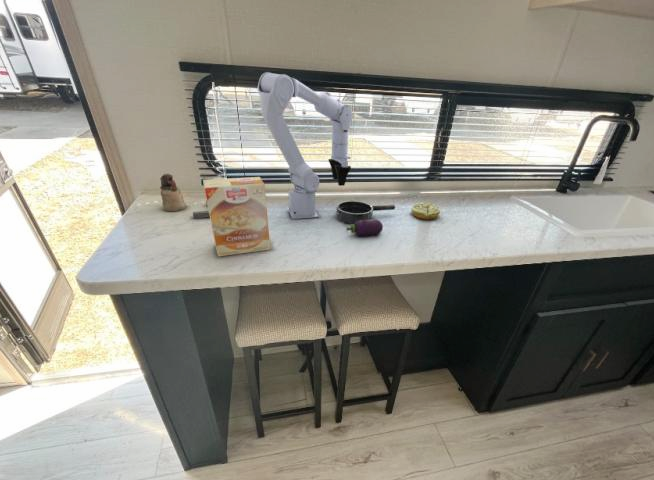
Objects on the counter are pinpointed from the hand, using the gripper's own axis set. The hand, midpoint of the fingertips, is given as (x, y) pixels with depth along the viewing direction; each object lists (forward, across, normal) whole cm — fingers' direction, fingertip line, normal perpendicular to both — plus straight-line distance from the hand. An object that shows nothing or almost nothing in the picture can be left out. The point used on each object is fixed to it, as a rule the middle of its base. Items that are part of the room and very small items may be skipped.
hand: (338, 182), depth 125 cm
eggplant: (+9, -25, -2) cm, 27 cm away
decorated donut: (+10, -14, -31) cm, 35 cm away
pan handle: (+7, -12, -14) cm, 20 cm away
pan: (+9, -12, -3) cm, 16 cm away
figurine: (+10, +7, +59) cm, 60 cm away
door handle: (+10, 0, +44) cm, 45 cm away
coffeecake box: (+10, -29, +37) cm, 48 cm away
